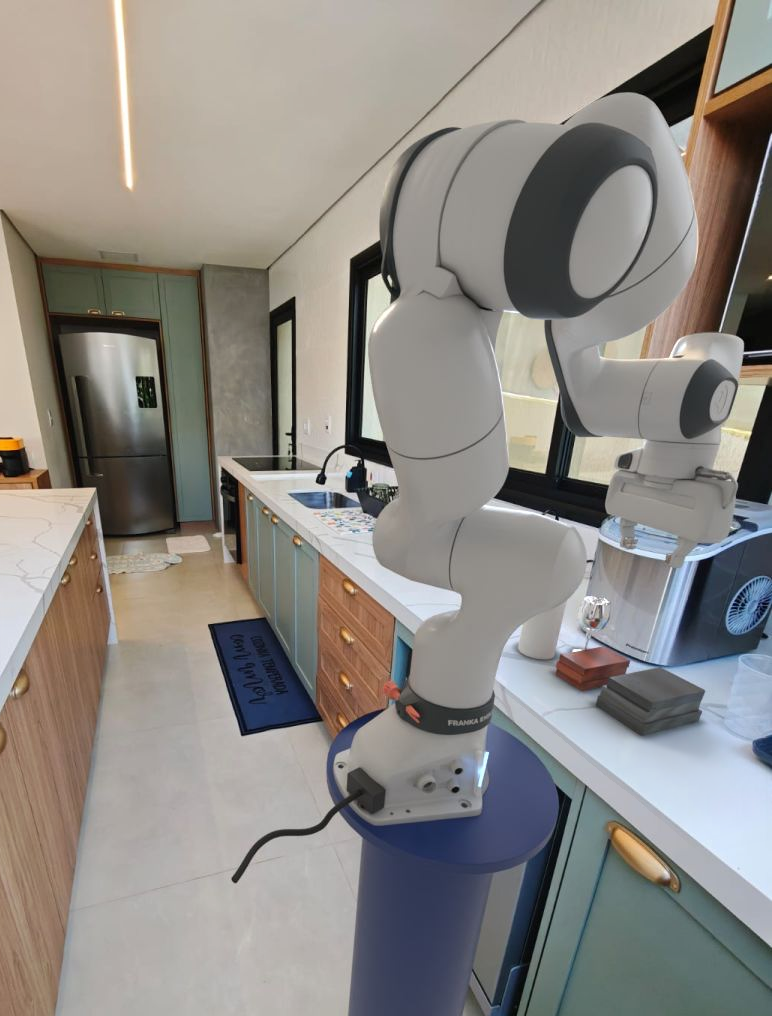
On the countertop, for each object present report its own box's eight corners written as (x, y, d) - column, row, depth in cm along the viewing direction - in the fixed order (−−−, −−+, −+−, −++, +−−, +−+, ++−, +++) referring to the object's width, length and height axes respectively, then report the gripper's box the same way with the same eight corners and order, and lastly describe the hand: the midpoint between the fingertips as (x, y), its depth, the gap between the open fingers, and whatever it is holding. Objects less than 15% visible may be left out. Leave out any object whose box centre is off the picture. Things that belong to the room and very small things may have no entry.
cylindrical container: (531, 660, 101) (556, 540, 92) (511, 644, 108) (533, 530, 98) (561, 657, 103) (590, 539, 94) (540, 642, 109) (564, 529, 100)
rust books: (579, 691, 91) (583, 677, 90) (553, 674, 97) (556, 660, 96) (624, 682, 95) (628, 668, 94) (597, 666, 100) (600, 652, 99)
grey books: (641, 736, 79) (651, 704, 77) (595, 705, 87) (603, 675, 85) (698, 721, 84) (710, 691, 81) (649, 693, 91) (658, 664, 89)
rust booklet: (583, 676, 90) (585, 668, 90) (558, 660, 95) (559, 653, 95) (628, 667, 94) (630, 660, 93) (602, 652, 99) (603, 646, 98)
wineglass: (581, 645, 109) (594, 593, 104) (605, 657, 104) (620, 603, 99) (562, 650, 106) (575, 597, 102) (586, 662, 101) (600, 607, 97)
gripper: (763, 473, 62) (726, 579, 67) (644, 456, 81) (622, 539, 86) (718, 472, 61) (684, 579, 66) (608, 455, 80) (588, 539, 85)
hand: (648, 557), depth 76 cm, fingers open, 8 cm apart
